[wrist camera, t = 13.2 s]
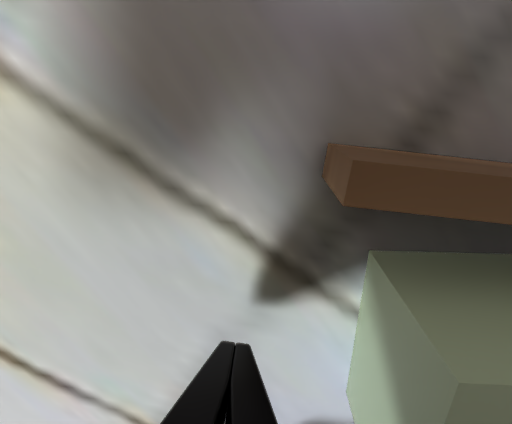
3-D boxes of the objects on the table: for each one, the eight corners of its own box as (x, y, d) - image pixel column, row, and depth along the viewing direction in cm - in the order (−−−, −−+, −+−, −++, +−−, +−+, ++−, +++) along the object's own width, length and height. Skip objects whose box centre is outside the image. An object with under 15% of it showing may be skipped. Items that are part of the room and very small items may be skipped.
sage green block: (508, 395, 11) (665, 588, 6) (345, 387, 11) (392, 568, 7) (573, 252, 8) (874, 400, 4) (367, 247, 9) (458, 383, 4)
